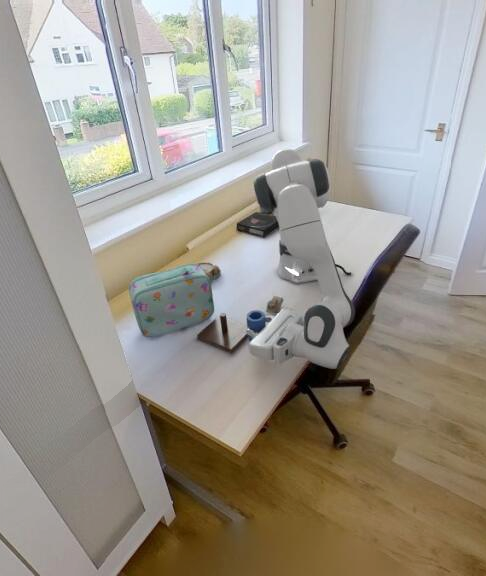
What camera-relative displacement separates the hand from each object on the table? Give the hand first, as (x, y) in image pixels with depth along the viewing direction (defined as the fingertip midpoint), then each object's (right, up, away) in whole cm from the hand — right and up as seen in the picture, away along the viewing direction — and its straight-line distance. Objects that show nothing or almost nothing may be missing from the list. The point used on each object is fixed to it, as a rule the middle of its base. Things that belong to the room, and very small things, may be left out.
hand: (253, 324), depth 120 cm
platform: (-10, -5, +11) cm, 16 cm away
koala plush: (+10, +53, +96) cm, 111 cm away
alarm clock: (-22, +15, +42) cm, 50 cm away
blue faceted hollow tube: (+1, -5, +3) cm, 5 cm away
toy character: (+6, +3, +22) cm, 23 cm away
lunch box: (-27, -1, +18) cm, 32 cm away
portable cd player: (-1, +41, +80) cm, 90 cm away
